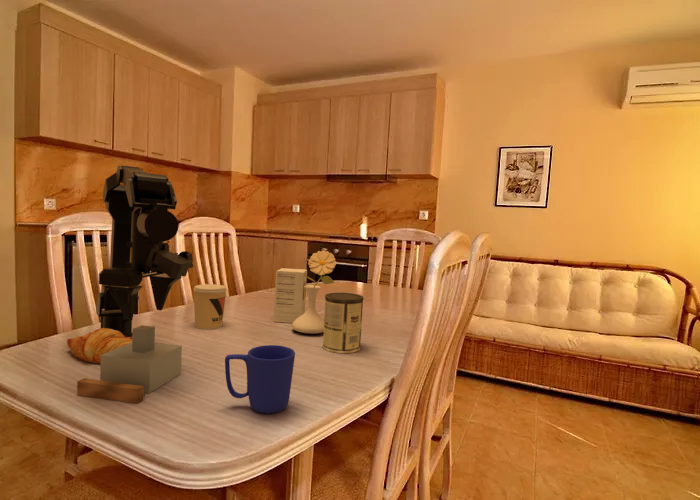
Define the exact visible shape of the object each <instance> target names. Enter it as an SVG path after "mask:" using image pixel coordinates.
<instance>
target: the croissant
mask: <svg viewBox="0 0 700 500" xmlns="http://www.w3.org/2000/svg"><path fill="white" fill-rule="evenodd" d="M66 343H67V347H68V348H69V350H70V352H71V354H72V355H73V356H75V357H76V358H78V360H82V361H84V362H90V363H95V364H101V355H103V354H105V353H107V352H110V351H112V350H115V349H117V348H120V347H122V346H125V345H127V344H130V343H132V336H130V337H125V336H124V335H123V334H122V333H121V332H119V331H116V330H113V329H108V328H101V327H100V328H97V329H95V330H94V331H92V332H88V333H86V334H85V335H78V336H75V337H74V338H73V337H72V338H68V339H67V341H66Z"/></svg>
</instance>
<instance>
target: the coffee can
mask: <svg viewBox="0 0 700 500" xmlns="http://www.w3.org/2000/svg"><path fill="white" fill-rule="evenodd" d="M324 299H325V300H324V301H325V302H324V318H323V319H324V332H323V338H322V339H323V341H322V349H323V350H326V351H328V352H330V353H336V354H353V353H356V352H358V351H360V350H361V339H362V321H363V303H364V296H363V295H361V294H358V293H350V292H329V293H326V294H325V295H324Z"/></svg>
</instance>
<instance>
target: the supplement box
mask: <svg viewBox="0 0 700 500" xmlns="http://www.w3.org/2000/svg"><path fill="white" fill-rule="evenodd" d="M306 276H307V277H308V269H300V268H285V267H284V268H282V267H281V268H279V269H277V270H276V271H275V284H274V302H273V303H274V307H273V323H274V322H276V323H287V324H289V323H290V324H292V323H293V322H294V321H295V320H296V319H297V318H298V317H300V316H301V315H302V314H304V313H305V312H306V298H307V291H306V289H305V287H304V286H306V285H307V282H308V281H307V279H308V278H307V277H306Z"/></svg>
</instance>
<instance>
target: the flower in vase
mask: <svg viewBox="0 0 700 500" xmlns="http://www.w3.org/2000/svg"><path fill="white" fill-rule="evenodd" d="M307 264H308V267H309V268H310V269H309V270H310V272H312V273H314V274H316V275H318V276H320V277H319V279H318V280H317V281H315V280H314V279H313V278H311V277H310V276H308V275H307V276H306V277H307V279H309V280H310V281H312V282H314V283H315V284H314V285H313V284H310V285H309V284H306V286H304V287H305V289H306V295H307V307H306V308H307V309H305V313H304V314H302V315H301V316H300V317H298V318H297V319H296V320H295V321H294V322H293V323H291V328H292V329H293V330H294V331H296V332H299V333H302V334H308V335H309V334H311V335H313V334H321V333H324V318H323V317H322V316H321V315H320V314H319V313H318V312H317V310H316V301H317V295H318V292H319V291H320V290H321V288H322V287H321V286H320V285H317V284H319V282H320V280H321V282H322V283H323V284H324V285H330V284H334V283H335V282H334V280H333V279H332V278H331V276H329V275H326V274H331V273H332V272H333V271H334V269H335V268H336V266H337V261H336V258H335V255H334V254H333V253H332V252H329V251H327V250H321V251H320V250H318V251H317V252H314V253H312V255H311V256H310V258H309V259H308V263H307Z"/></svg>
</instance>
